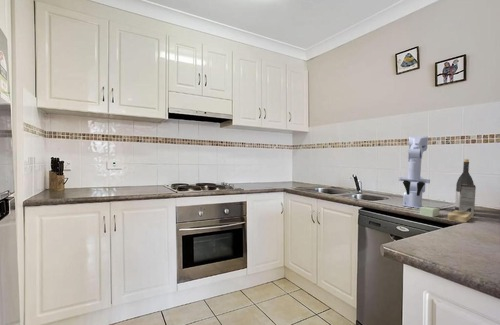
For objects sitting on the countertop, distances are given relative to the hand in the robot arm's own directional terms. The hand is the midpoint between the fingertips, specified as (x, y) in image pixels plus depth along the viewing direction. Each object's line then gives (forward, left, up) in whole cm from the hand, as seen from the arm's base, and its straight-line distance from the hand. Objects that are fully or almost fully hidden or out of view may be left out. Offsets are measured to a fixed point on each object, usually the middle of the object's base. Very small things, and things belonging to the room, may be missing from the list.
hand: (413, 195), depth 142 cm
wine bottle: (+17, +34, -10) cm, 39 cm away
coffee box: (+20, +21, -10) cm, 31 cm away
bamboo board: (+20, +4, -9) cm, 22 cm away
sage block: (+8, 0, -10) cm, 13 cm away
